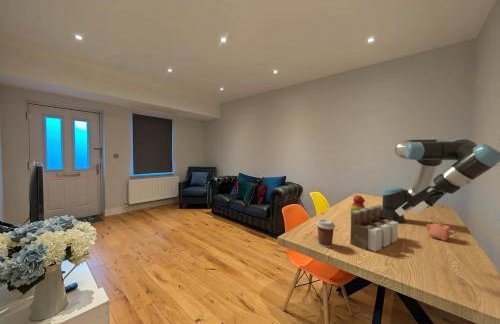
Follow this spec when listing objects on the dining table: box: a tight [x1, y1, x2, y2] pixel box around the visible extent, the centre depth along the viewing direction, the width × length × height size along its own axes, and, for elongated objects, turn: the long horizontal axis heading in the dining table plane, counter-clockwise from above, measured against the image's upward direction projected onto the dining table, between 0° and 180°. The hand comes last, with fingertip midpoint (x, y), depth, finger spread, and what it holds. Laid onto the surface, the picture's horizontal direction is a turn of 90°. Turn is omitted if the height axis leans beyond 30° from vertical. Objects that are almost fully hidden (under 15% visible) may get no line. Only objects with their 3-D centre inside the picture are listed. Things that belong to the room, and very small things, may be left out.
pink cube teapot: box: [426, 222, 457, 242], centre depth 113 cm, size 8×12×8 cm, turn 36°
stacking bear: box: [350, 194, 366, 213], centre depth 143 cm, size 11×10×18 cm
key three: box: [365, 225, 382, 253], centre depth 101 cm, size 6×6×10 cm
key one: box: [382, 219, 399, 244], centre depth 110 cm, size 6×6×10 cm
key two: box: [374, 222, 391, 248], centre depth 106 cm, size 6×6×10 cm
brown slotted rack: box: [349, 204, 393, 251], centre depth 109 cm, size 28×8×17 cm, turn 123°
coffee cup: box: [315, 219, 336, 248], centre depth 105 cm, size 9×9×12 cm
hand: (405, 212), depth 89 cm, fingers open, 13 cm apart
